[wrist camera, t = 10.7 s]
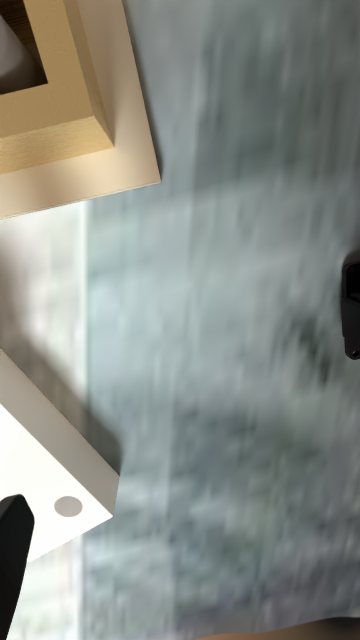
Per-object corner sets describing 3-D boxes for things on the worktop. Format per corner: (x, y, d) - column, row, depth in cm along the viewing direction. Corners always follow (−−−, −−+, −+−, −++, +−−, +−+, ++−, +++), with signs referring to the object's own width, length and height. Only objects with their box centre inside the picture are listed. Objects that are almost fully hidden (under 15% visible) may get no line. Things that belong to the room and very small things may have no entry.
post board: (108, -58, 13) (73, -249, 8) (160, 182, 17) (161, 165, 11) (-109, -7, 14) (-292, -159, 8) (-16, 223, 17) (-101, 225, 11)
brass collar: (75, -3, 13) (29, -124, 9) (114, 147, 15) (94, 115, 11) (-56, 29, 13) (-173, -74, 9) (-1, 174, 15) (-72, 155, 11)
